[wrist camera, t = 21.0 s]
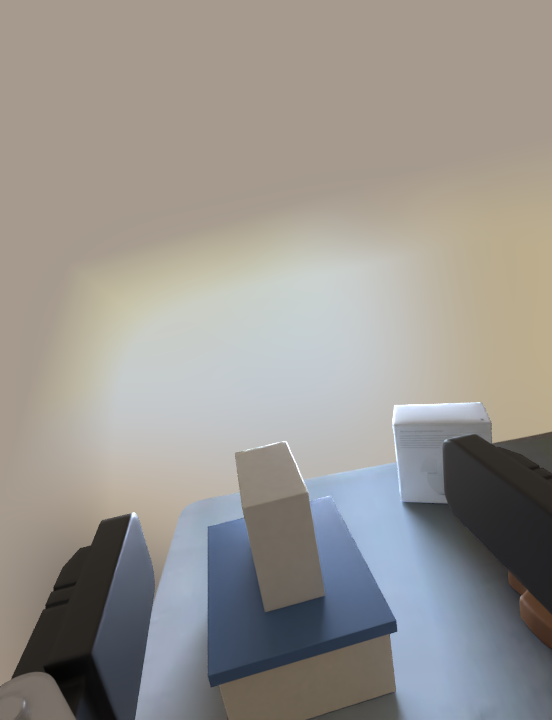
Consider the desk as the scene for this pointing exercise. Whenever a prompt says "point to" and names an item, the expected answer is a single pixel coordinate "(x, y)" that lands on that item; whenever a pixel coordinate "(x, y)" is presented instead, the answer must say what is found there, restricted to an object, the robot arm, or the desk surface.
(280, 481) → the white case
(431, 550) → the desk surface
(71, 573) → the robot arm
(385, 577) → the desk surface
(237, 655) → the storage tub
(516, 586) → the plant
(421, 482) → the cosmetics box
